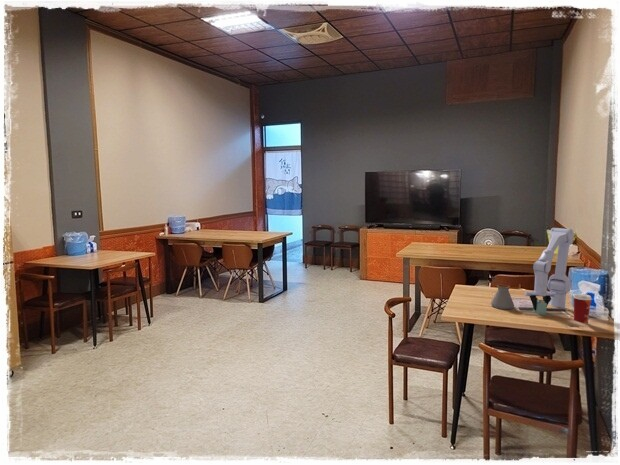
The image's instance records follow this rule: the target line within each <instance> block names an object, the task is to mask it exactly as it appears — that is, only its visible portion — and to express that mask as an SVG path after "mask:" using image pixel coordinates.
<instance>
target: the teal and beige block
mask: <svg viewBox="0 0 620 465" xmlns="http://www.w3.org/2000/svg"><path fill="white" fill-rule="evenodd" d="M537 298H538V299H537V305H536V310H534V309H533V311H534V312H535V313H537V314H543V315H546V308H548V305H547V303H546V302H544V301H543V299H541V298H540V297H537Z"/></svg>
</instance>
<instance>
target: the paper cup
mask: <svg viewBox="0 0 620 465" xmlns="http://www.w3.org/2000/svg"><path fill="white" fill-rule="evenodd" d="M572 298H573V316H574V317H573V320H574V321H576V322H577V323H586V324H588V322H589V316H590V310H591V309H590V307H591V303H592V300H593V298H592V296H591V295H589V294H585V293H575V294H574V295H573V297H572Z"/></svg>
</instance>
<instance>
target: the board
mask: <svg viewBox="0 0 620 465" xmlns="http://www.w3.org/2000/svg"><path fill="white" fill-rule="evenodd" d="M565 308H566V307H565ZM565 308H559V307H547V308H546V315H543V314H537V313H535V312H534V311H533V306H532V307H530V306H518V308H517V309H518V310H519V311H520V312H521V313H523V315H524V316H530V317H531V316H533V317H534V316H535V317H561V318H563V317H564V318H574V315H572V314H571V313H569V312H567V310H566V309H565Z"/></svg>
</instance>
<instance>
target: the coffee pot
mask: <svg viewBox="0 0 620 465" xmlns="http://www.w3.org/2000/svg"><path fill="white" fill-rule="evenodd" d="M491 279H492V280H493V282H494V283H495V285H496V287H497V290H496V292H495V294H494V296H493V298H492V300H491V303H490V304H491V306H492V307H493V308H495V309H498V310H513V309H514V307H515V303H514V301H513V299H512V295H511V294H510V291H509V290H510V288H511V286H510V285H505V284H499V283H498V280H496V278H495V276H491Z"/></svg>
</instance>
